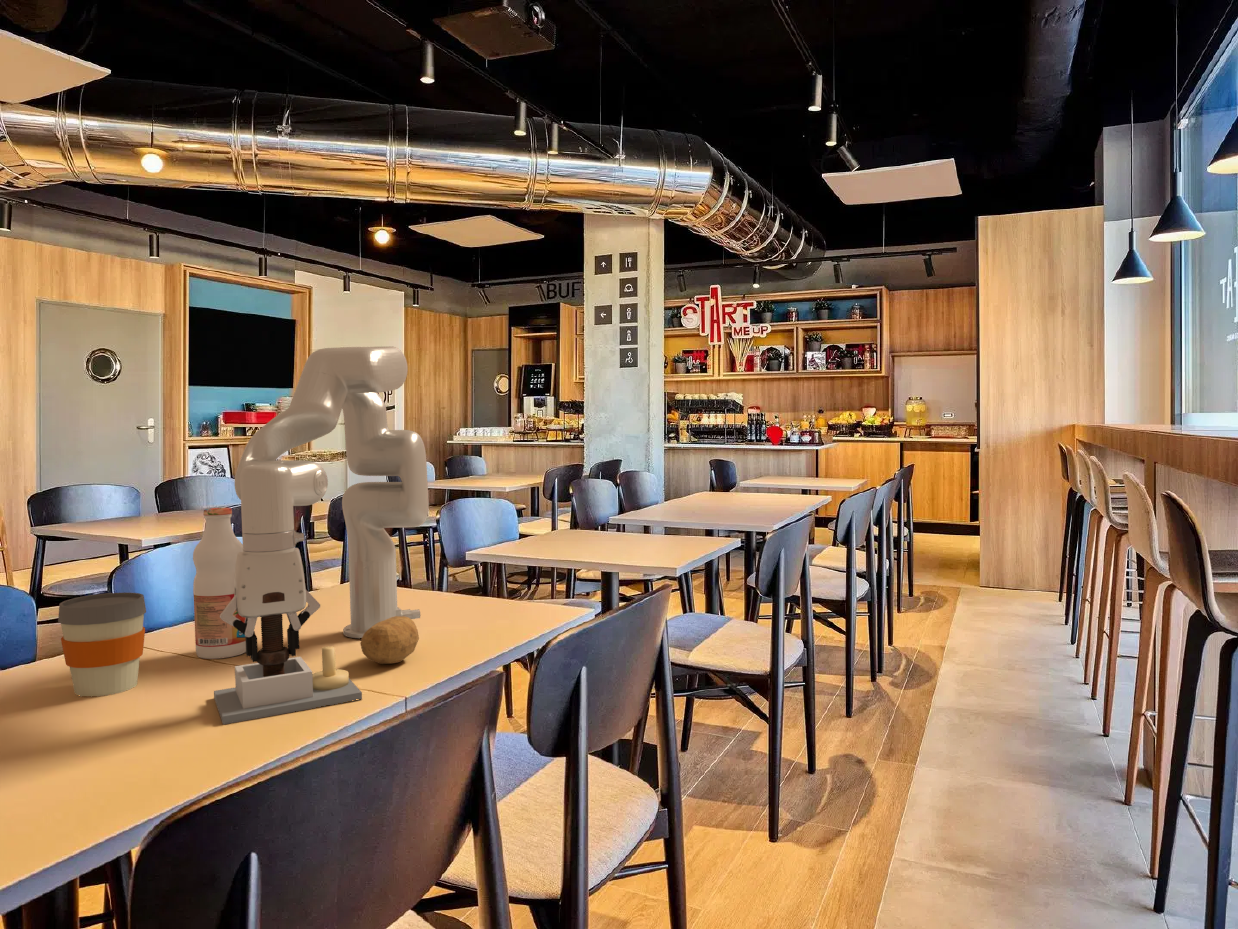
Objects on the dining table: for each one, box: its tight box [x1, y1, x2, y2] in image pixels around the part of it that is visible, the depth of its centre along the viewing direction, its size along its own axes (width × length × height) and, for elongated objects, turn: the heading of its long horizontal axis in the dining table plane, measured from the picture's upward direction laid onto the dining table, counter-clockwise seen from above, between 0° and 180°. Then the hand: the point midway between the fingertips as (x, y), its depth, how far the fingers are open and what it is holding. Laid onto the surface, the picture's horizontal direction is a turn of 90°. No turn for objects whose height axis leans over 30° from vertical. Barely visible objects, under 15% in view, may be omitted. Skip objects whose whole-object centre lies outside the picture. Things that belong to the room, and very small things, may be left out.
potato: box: [359, 616, 420, 665], centre depth 153 cm, size 10×14×8 cm
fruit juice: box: [192, 507, 246, 660], centre depth 160 cm, size 9×9×28 cm
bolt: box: [255, 592, 291, 677], centre depth 131 cm, size 6×5×15 cm
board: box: [213, 646, 363, 725], centre depth 133 cm, size 20×14×7 cm
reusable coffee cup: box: [57, 592, 147, 698], centre depth 139 cm, size 13×12×15 cm
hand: (273, 655), depth 131 cm, fingers closed on bolt, 4 cm apart
